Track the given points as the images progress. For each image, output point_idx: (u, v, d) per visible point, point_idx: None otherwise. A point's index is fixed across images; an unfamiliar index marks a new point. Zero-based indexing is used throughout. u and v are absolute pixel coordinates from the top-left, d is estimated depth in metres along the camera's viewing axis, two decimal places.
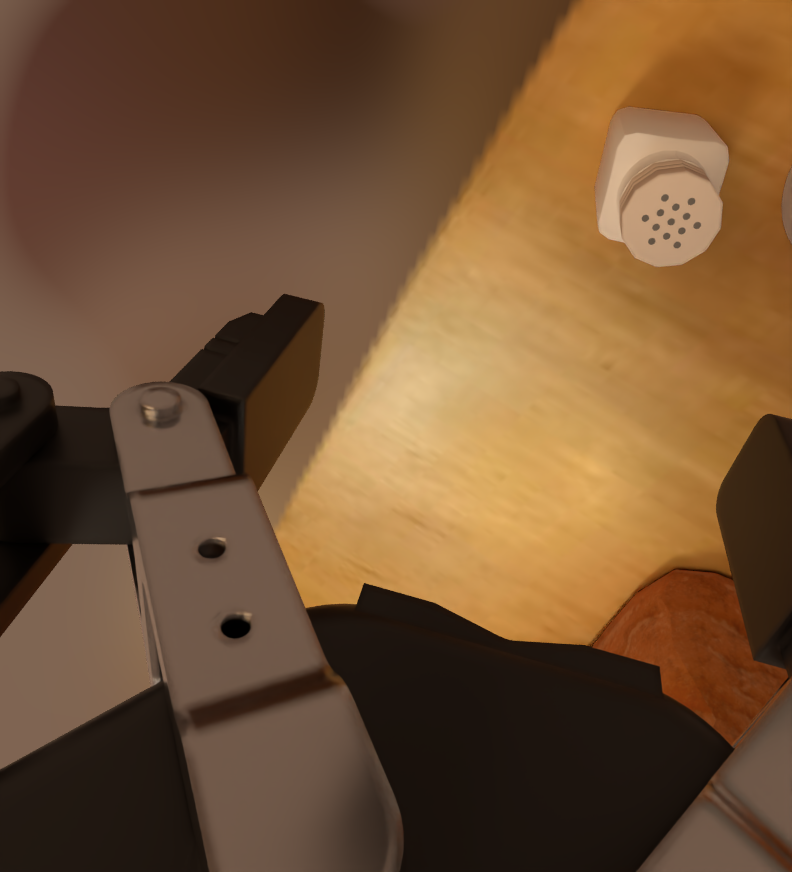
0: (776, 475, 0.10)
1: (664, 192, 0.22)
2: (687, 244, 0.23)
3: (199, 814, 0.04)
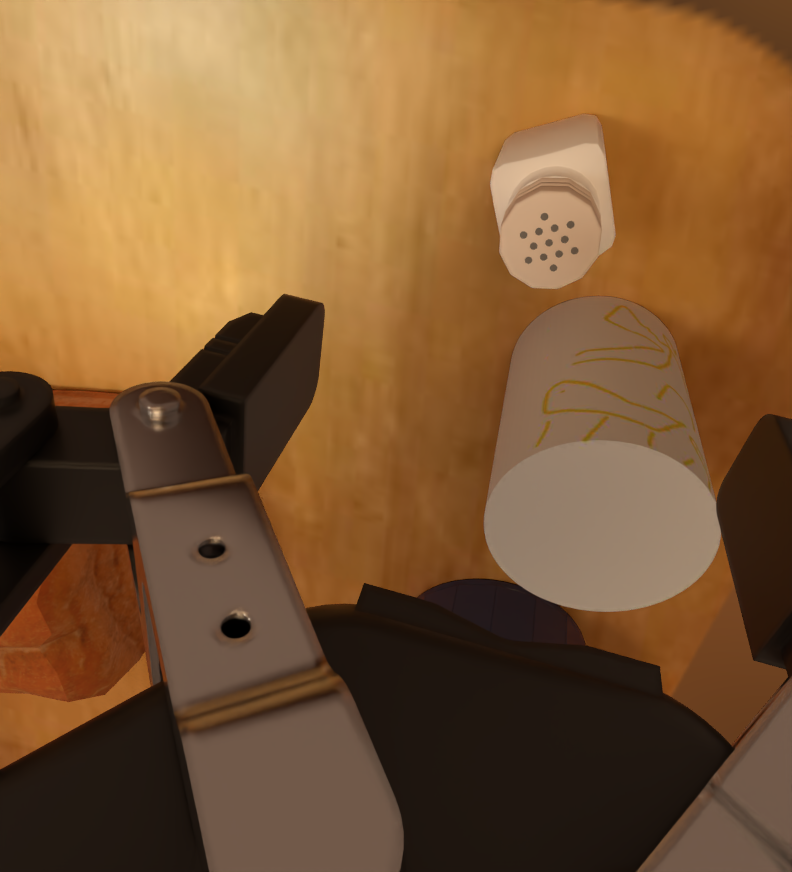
0: (776, 476, 0.10)
1: (575, 221, 0.21)
2: (532, 269, 0.22)
3: (200, 813, 0.04)
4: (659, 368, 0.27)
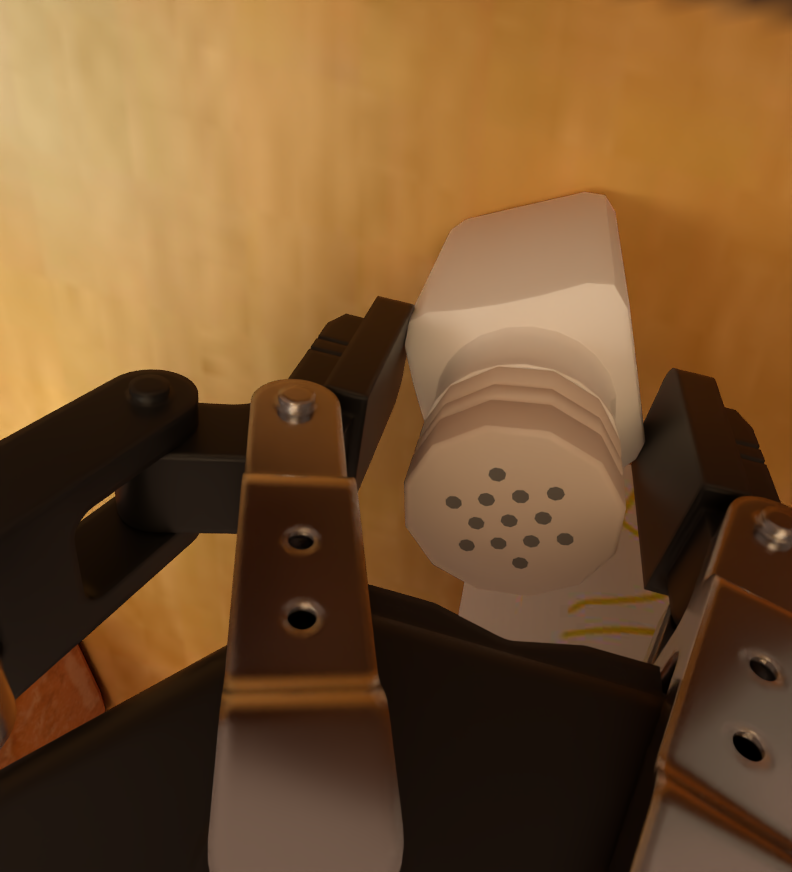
0: (673, 422, 0.11)
1: (567, 488, 0.09)
2: (475, 560, 0.10)
3: (214, 781, 0.04)
4: None
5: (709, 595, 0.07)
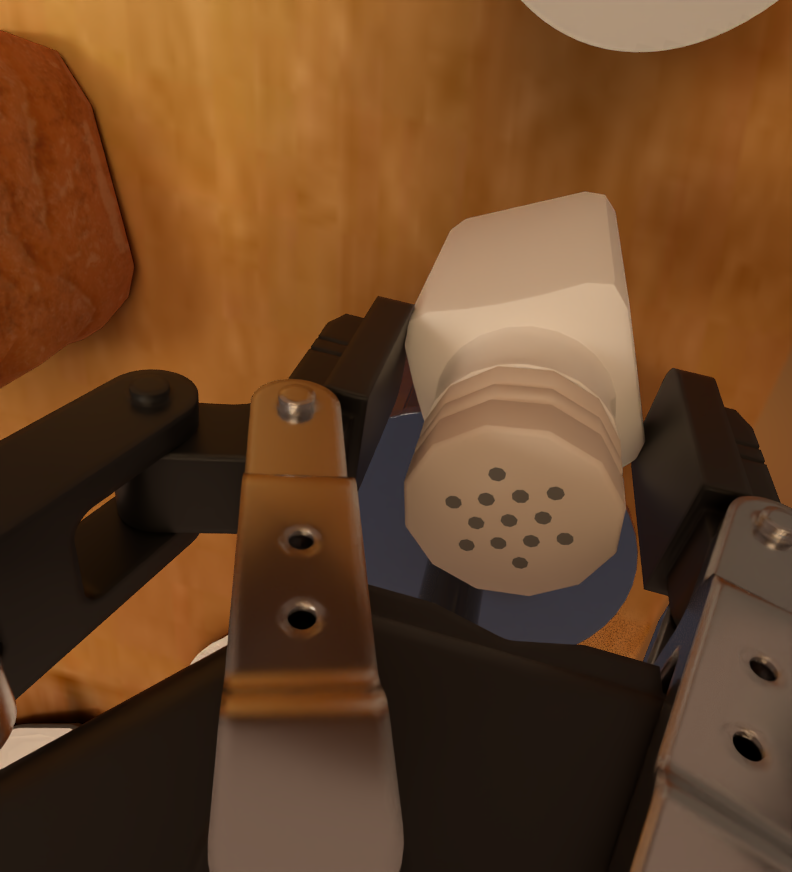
0: (672, 422, 0.11)
1: (566, 488, 0.09)
2: (475, 560, 0.10)
3: (214, 781, 0.04)
4: None
5: (709, 595, 0.07)
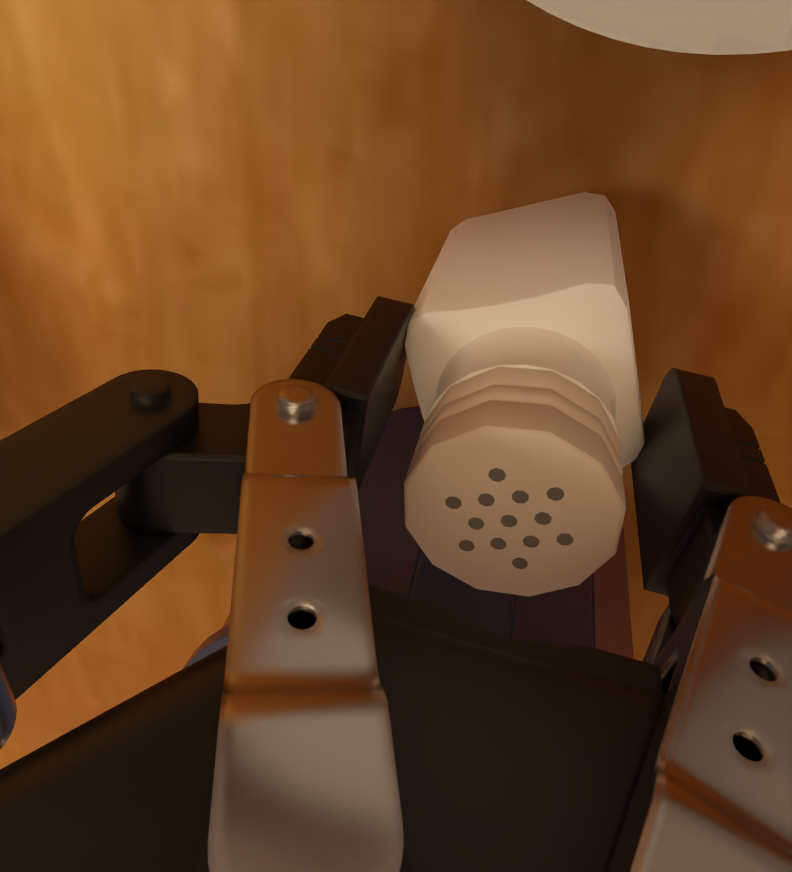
0: (672, 422, 0.11)
1: (566, 489, 0.09)
2: (475, 560, 0.10)
3: (214, 781, 0.04)
4: None
5: (709, 595, 0.07)
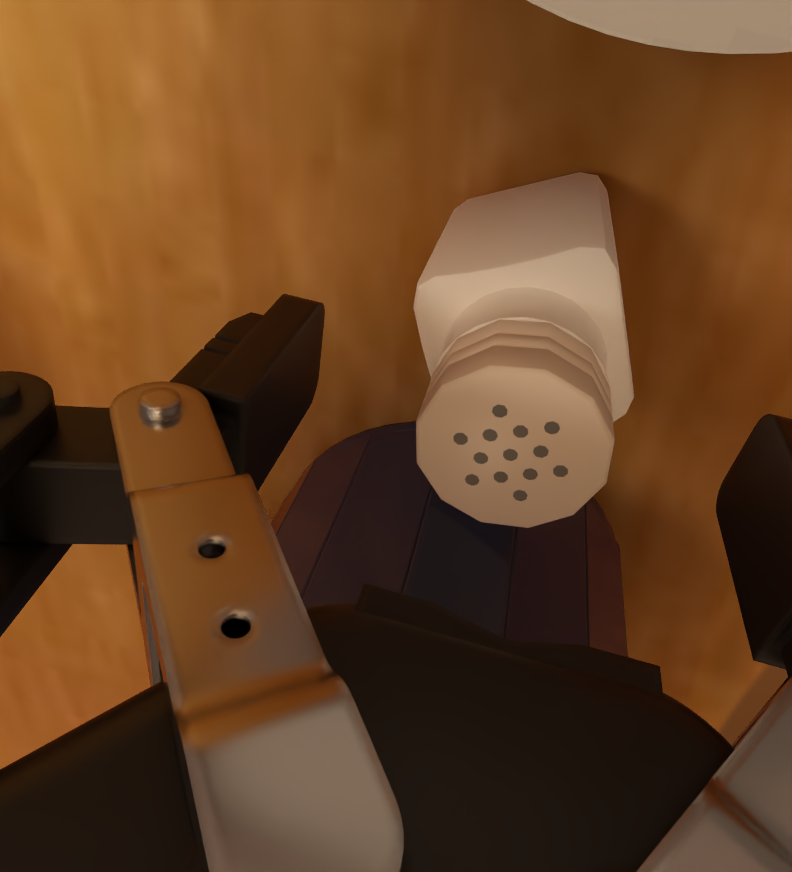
0: (776, 475, 0.10)
1: (562, 423, 0.10)
2: (479, 494, 0.11)
3: (200, 814, 0.04)
4: None
5: None
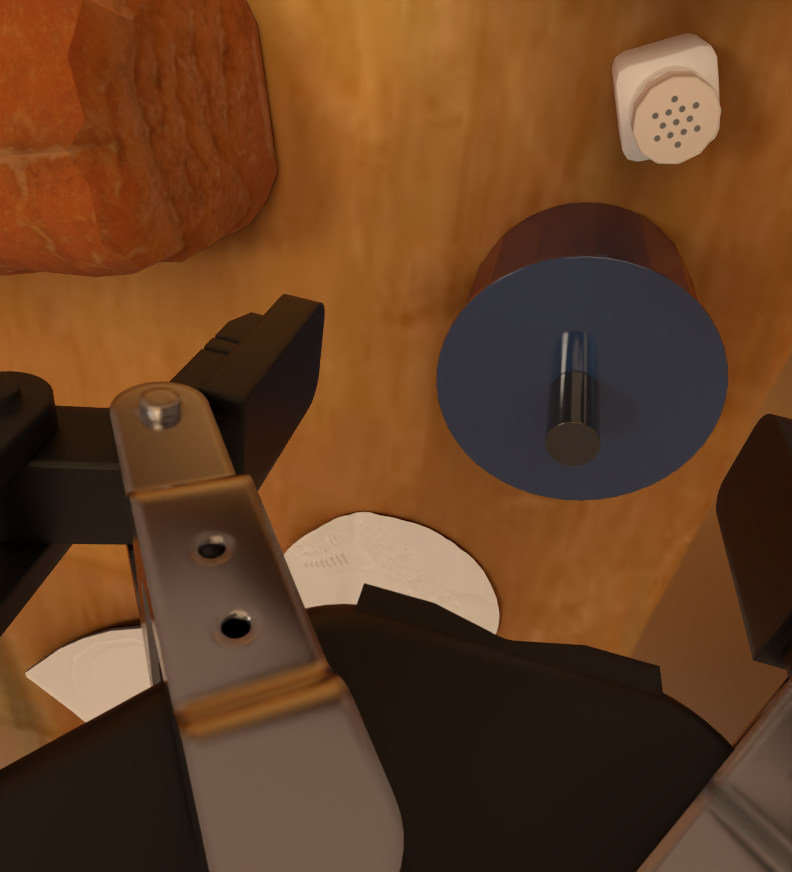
0: (776, 475, 0.10)
1: (700, 102, 0.25)
2: (659, 146, 0.27)
3: (199, 814, 0.04)
4: None
5: None
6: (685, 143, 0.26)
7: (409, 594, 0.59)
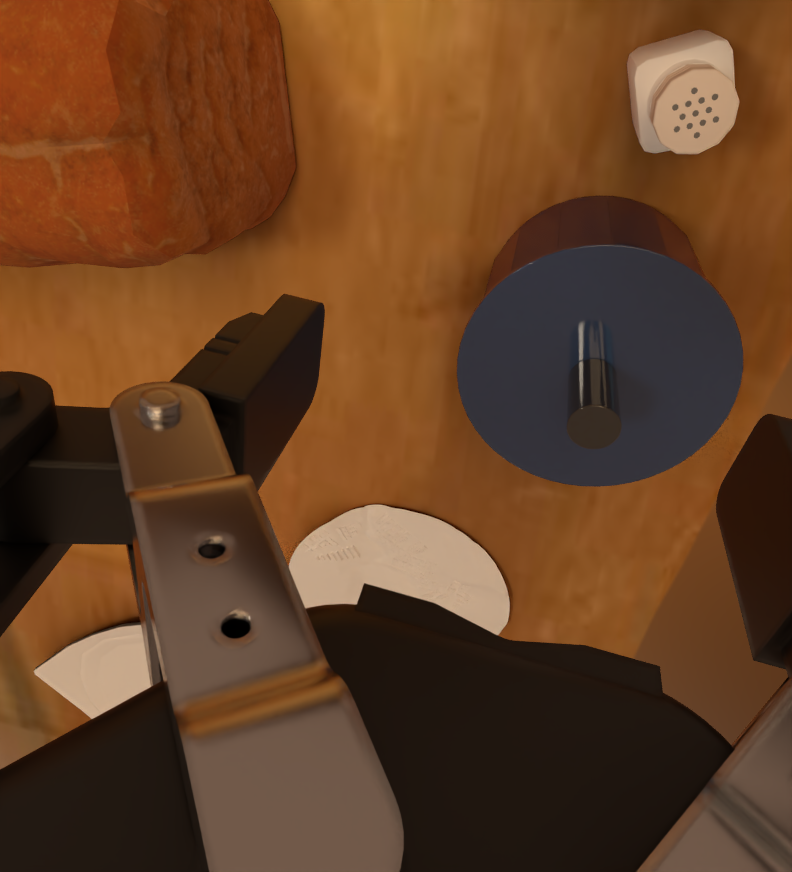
0: (776, 475, 0.10)
1: (719, 94, 0.26)
2: (679, 137, 0.28)
3: (200, 814, 0.04)
4: None
5: None
6: (704, 134, 0.27)
7: (420, 586, 0.60)
